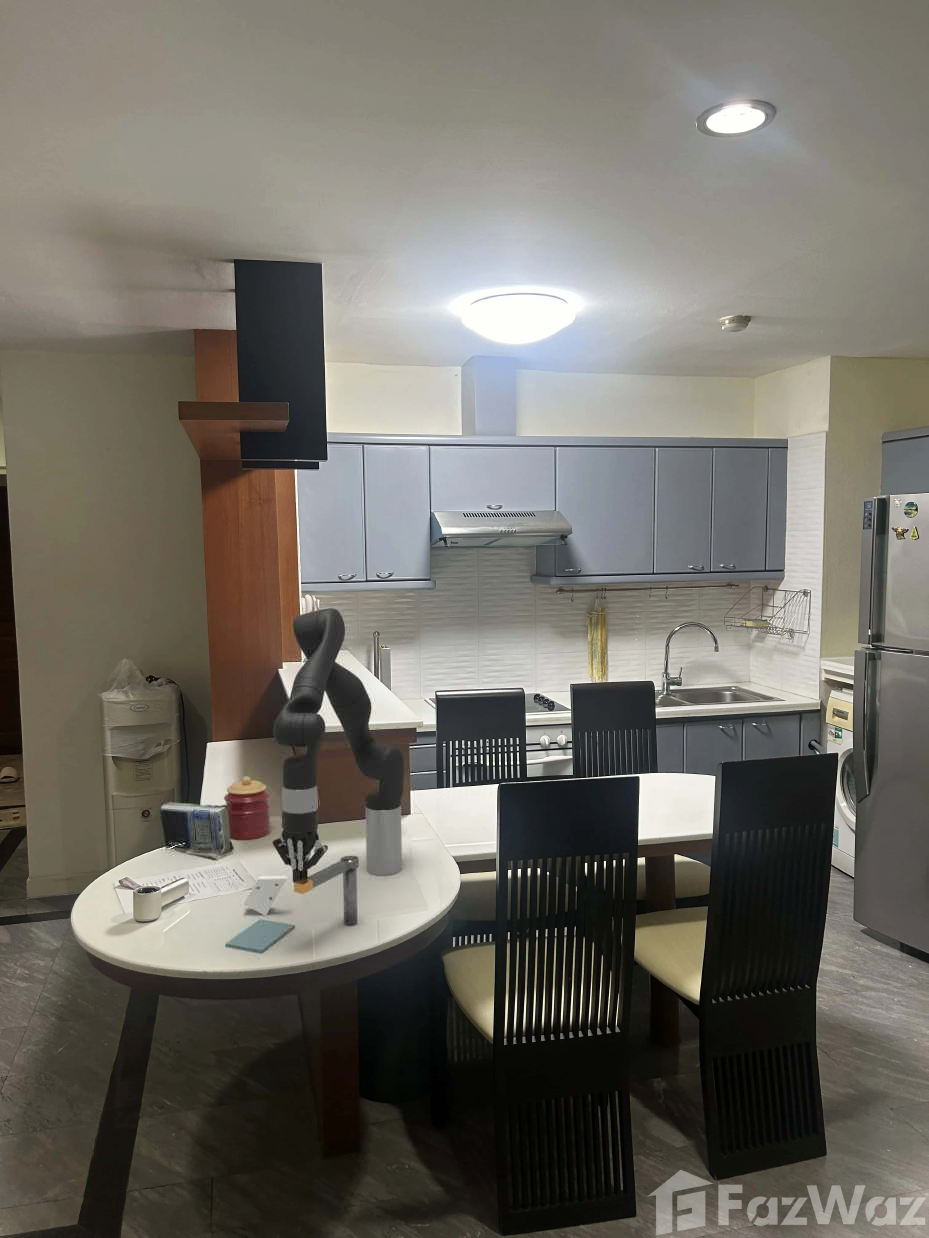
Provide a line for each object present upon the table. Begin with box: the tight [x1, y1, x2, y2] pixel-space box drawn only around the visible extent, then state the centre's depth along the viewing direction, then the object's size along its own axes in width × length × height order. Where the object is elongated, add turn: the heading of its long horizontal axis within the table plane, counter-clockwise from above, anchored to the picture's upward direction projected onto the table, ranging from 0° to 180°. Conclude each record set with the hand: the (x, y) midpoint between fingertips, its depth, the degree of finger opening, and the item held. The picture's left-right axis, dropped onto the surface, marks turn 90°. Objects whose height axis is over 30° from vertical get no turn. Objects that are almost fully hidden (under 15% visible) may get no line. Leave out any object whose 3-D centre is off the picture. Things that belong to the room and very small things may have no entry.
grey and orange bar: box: [293, 855, 360, 895], centre depth 190 cm, size 19×4×2 cm, turn 149°
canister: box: [223, 775, 271, 841], centre depth 258 cm, size 13×13×18 cm
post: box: [342, 868, 358, 927], centre depth 198 cm, size 3×3×13 cm
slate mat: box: [224, 918, 296, 955], centre depth 191 cm, size 13×9×1 cm
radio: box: [159, 801, 234, 861], centre depth 244 cm, size 23×8×14 cm, turn 56°
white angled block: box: [243, 875, 289, 916], centre depth 204 cm, size 4×10×9 cm, turn 92°
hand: (300, 885), depth 187 cm, fingers closed
